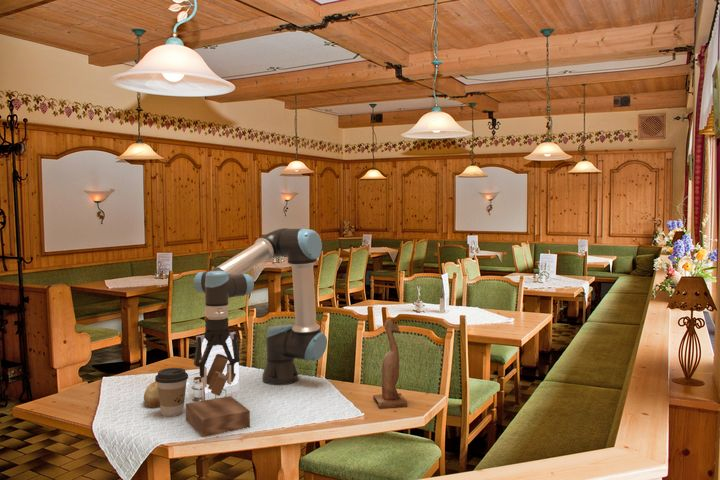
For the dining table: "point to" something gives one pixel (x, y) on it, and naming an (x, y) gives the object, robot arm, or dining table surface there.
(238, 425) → the walnut base block
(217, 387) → the wooden block set
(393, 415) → the dining table surface
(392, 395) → the bird sculpture
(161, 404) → the coffee cup
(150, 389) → the bread roll
